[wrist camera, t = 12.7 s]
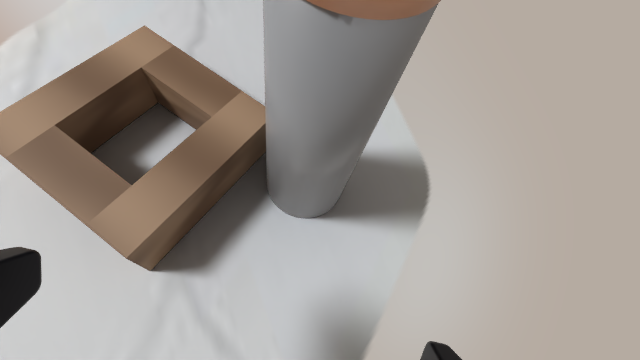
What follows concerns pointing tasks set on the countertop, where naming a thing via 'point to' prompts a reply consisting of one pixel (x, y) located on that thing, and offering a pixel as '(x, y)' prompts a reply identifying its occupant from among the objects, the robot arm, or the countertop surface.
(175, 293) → the countertop surface
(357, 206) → the countertop surface
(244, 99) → the brown square frame
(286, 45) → the plug
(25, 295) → the robot arm
